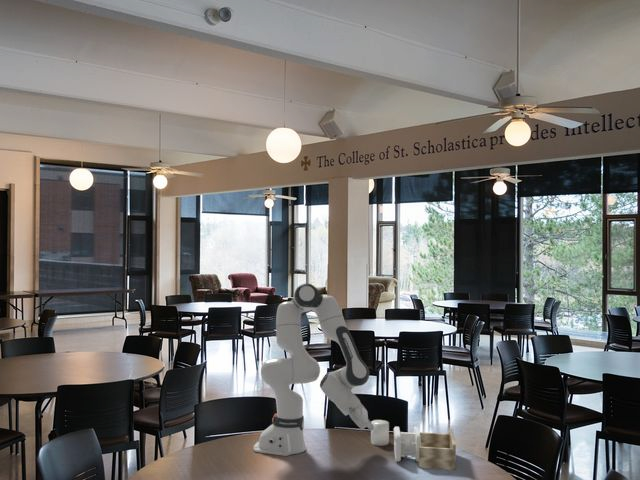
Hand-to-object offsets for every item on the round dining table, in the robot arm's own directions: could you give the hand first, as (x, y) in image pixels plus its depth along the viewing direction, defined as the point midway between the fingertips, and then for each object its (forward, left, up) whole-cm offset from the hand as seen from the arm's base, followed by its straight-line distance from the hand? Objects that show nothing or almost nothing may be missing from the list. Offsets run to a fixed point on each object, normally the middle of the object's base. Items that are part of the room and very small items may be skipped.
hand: (372, 428), depth 258 cm
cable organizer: (+14, -3, -11) cm, 18 cm away
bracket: (+26, -3, -10) cm, 29 cm away
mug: (+2, +16, -10) cm, 19 cm away
